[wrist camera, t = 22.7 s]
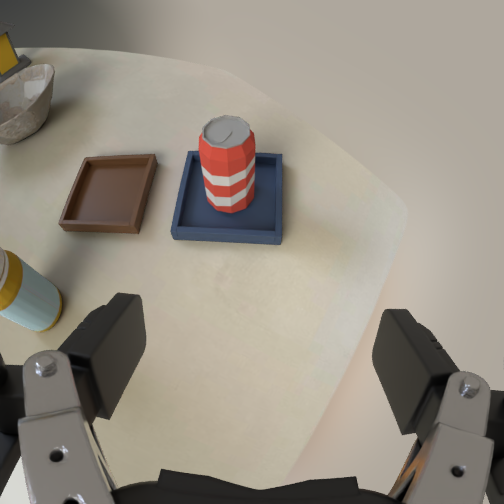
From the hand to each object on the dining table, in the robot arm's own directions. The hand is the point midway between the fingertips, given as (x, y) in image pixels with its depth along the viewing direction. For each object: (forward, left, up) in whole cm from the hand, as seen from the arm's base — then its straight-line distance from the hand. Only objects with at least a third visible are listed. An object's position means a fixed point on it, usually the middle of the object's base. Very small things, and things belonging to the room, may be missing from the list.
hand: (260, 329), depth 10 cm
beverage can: (+4, -23, -25) cm, 34 cm away
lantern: (+83, -76, -26) cm, 116 cm away
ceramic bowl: (+51, -42, -26) cm, 71 cm away
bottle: (+28, -5, -26) cm, 39 cm away
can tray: (+4, -23, -26) cm, 35 cm away
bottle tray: (+22, -23, -26) cm, 41 cm away
